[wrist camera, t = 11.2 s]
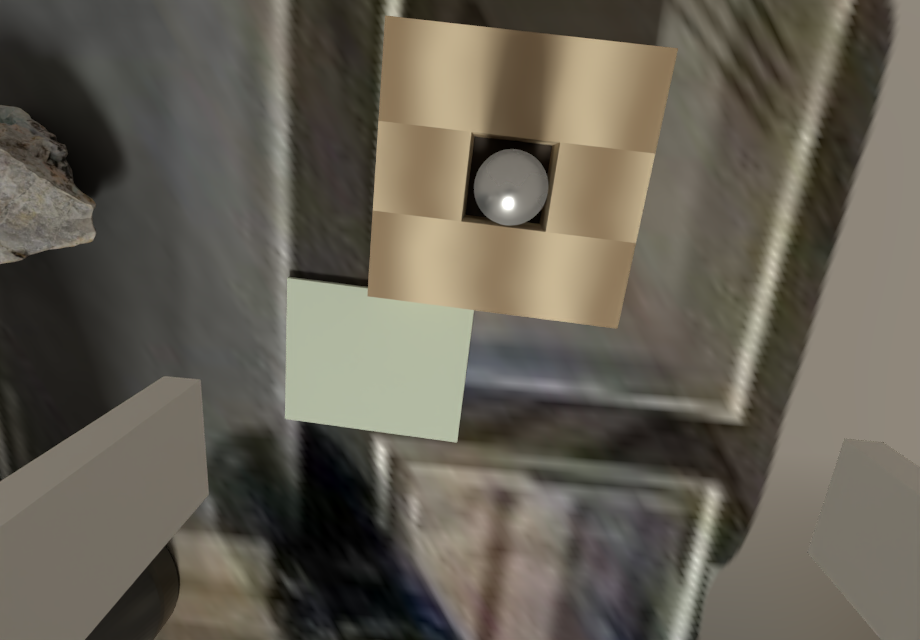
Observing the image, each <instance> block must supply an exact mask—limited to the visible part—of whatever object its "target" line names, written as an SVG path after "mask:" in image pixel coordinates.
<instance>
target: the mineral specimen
mask: <svg viewBox="0 0 920 640" xmlns="http://www.w3.org/2000/svg"><path fill="white" fill-rule="evenodd" d="M67 155H68V152H67V149H66V146H65V145H64V144H61V143H59V142H57V138H56V135H54V134H52V133H50V132H48V131H47V129H46V128H45V127H43V126H42V125H40V124H39V123H38V122H36V121H34V120H32V119H31V117H30V115H29V114H28V113H26V112H25V111H23V110H22V109H21V108H18V107H14V106H5V105H0V264H3V263H10V262H16V261H19V260H23V259H25V258H26V257H27V256H29V255H31V254H35V253H39V252H42V251H46V250H50V249H60V248H64V247H72V246H76V245H78V244H83V243H88V242H92V241H93V240H94V237H95V235H96V233H97V232H96V230H95V228H94V225H93V219H92V212H93V210H94V208H95V206H96V204H95V202H94V201H93V200H92V199H91V198H90V197H89V196H87V195H85V194H84V193H82V192H81V191H80V189H79V188H78V187H77V186H76V185H75V184H74V181H73V174H72V169H71V167H70V166H69V164H68V163H67V161H66V157H67Z"/></svg>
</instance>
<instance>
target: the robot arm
mask: <svg viewBox="0 0 920 640" xmlns="http://www.w3.org/2000/svg"><path fill="white" fill-rule="evenodd" d="M208 495H209V491H208V477H207V463H206V449H205V435H204V421H203V408H202V394H201V380H199V379H188V378H177V377H166V376H164V377H162V378H161V379H159V380H157V381H156V382H154V383H153V384H151V385H150V386H148V387H147V388H145V389H143V390H142V391H140V392H139V393H137V394H136V395H134V396H133V397H131V398H129V399H128V400H126V401H125V402H123V403H122V404H120V405H119V406H117V407H115V408H114V409H112V410H111V411H109V412H108V413H106V414H105V415H103V416H101V417H100V418H98V419H97V420H95V421H94V422H92V423H90V424H89V425H87V426H86V427H84V428H83V429H81V430H80V431H78V432H76V433H75V434H73V435H72V436H70V437H69V438H67V439H66V440H64V441H62V442H61V443H59V444H58V445H56V446H55V447H53V448H52V449H50V450H48V451H47V452H45V453H44V454H42V455H41V456H39V457H37V458H36V459H34V460H33V461H31V462H30V463H28V464H27V465H25V466H23V467H22V468H20V469H19V470H17V471H16V472H14V473H13V474H11V475H9V476H8V477H6V478H5V479H3V480H2V481H0V640H153V639H154V638H155V637H156V636H157V634H158V633H159V631H160V630H161V629H162V627H163V626H164V625H165V623H166V622H167V620H168V619H169V618H170V616H171V614H172V613H173V611H174V608H175V606H176V603H177V598H178V590H179V584H178V576H177V571H176V567H175V564H174V562H173V559H172V557H171V555H170V553H169V551H168V549H167V547H166V546H165V545H166V544H167V543H168V542H169V540H170V539H171V538H172V537H173V536H174V535H175V533H176V532H177V531H178V530H179V529H180V527H181V526H182V525H183V524H184V523H185V522H186V520H187V519H188V518H189V517H190V516H191V515H192V513H193V512H194V511H195V510H196V509H197V508H198V506H199V505H200V504H201V503H202V502H203V500H204V499H205V498H206V497H207V496H208ZM807 553H808V554H809V555H810V556H811V557H812V559H813V560H814V561H815V562H816V563H817V564H818V566H819V567H820V568H821V569H822V570H823V572H825V574H826V575H827V576H828V577H829V579H830V580H831V581H832V582H833V583H834V584H835V586H836V587H837V588H838V589H839V591H840V592H841V593H842V594H843V595H844V596H845V598H846V599H847V600H848V601H849V602H850V604H851V605H852V606H853V607H854V608H855V609H856V610H857V612H858V613H859V614H860V615H861V617H863V619H864V620H865V621H866V623H868V625H869V626H870V627H871V628H872V630H873V631H874V632H875V633H876V634H877V636H878V637H879V638H880V639H881V640H920V467H919V466H917V465H916V464H914V463H913V462H911V461H910V460H908V459H907V458H905V457H904V456H903V455H901V454H900V453H898V452H897V451H895V450H894V449H892V448H891V447H889V446H888V445H886V444H885V443H884V442H874V441H864V440H853V439H844V442H843V445H842V448H841V451H840V454H839V457H838V460H837V463H836V466H835V469H834V472H833V475H832V478H831V482H830V484H829V487H828V490H827V494H826V497H825V500H824V503H823V506H822V509H821V512H820V515H819V518H818V521H817V524H816V527H815V530H814V534H813V536H812V539H811V542H810V546H809V548H808V552H807Z"/></svg>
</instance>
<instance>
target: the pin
mask: <svg viewBox="0 0 920 640" xmlns="http://www.w3.org/2000/svg"><path fill="white" fill-rule="evenodd" d="M547 194H548V178H547V174H546V172H545V169H544V168H543V166H542V164H541V163H540V162H539V161H538V160H537V159H536V158H535V157H534V156H533V155H531V154H529V153H527V152H525V151H522V150H517V149H506V150H502V151H499V152H497V153H495V154H493V155H491V156H490V157H489V158H487V159H486V160H485V161H484V163H483V164H482V165H481V167H480V168H479V170H478V172H477V174H476V177H475V182H474V195H475V199H476V202H477V204H478V206H479V208H480V210H481V211H482V212H483V214H484V215H485V216H486V217H488V218H489V219H490V220H492V221H494V222H496V223H498V224H502V225H509V226H512V225H519V224H522V223H525V222H527V221H529V220H530V219H532V218H533V217H534V216H536V215H537V214H538V212H539V211H540V210H541V209H542V207H543V205H544V203H545V201H546V198H547Z"/></svg>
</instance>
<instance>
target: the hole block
mask: <svg viewBox="0 0 920 640" xmlns="http://www.w3.org/2000/svg"><path fill="white" fill-rule="evenodd" d="M677 51H678V48H669V47H660V46H651V45H642V44H633V43H625V42H616V41H607V40H598V39H589V38H580V37H571V36H562V35H553V34H544V33H535V32H526V31H518V30H509V29H500V28H491V27H482V26H473V25H464V24H455V23H446V22H437V21H428V20H419V19H411V18H402V17H393V16H385V28H384V44H383V60H382V76H381V91H380V107H379V123H378V138H377V154H376V170H375V185H374V201H373V217H372V232H371V248H370V264H369V279H368V295H367V296H369V297H377V298H384V299H392V300H400V301H408V302H415V303H423V304H431V305H439V306H446V307H454V308H462V309H470V310H477V311H485V312H493V313H501V314H508V315H516V316H524V317H532V318H539V319H547V320H555V321H562V322H570V323H578V324H586V325H593V326H601V327H609V328H618V323H619V319H620V314H621V309H622V305H623V300H624V295H625V291H626V286H627V282H628V277H629V272H630V268H631V263H632V259H633V254H634V249H635V245H636V240H637V235H638V231H639V226H640V222H641V217H642V212H643V208H644V203H645V198H646V194H647V189H648V185H649V180H650V175H651V171H652V166H653V161H654V157H655V152H656V148H657V143H658V138H659V134H660V129H661V125H662V120H663V115H664V111H665V106H666V101H667V97H668V92H669V88H670V83H671V78H672V74H673V69H674V64H675V60H676V55H677ZM475 136H476V137H484V138H493V139H501V140H510V141H518V142H526V143H535V144H543V145H552V148H551V155H550V161H549V167H548V173H547V178H548V194H547V198H546V201H545V203H544V205H543V207H542V211H541V217H540V224H536V223H528V222H525V223H522V224H519V225H512V226H509V225H502V224H498V223H496V222H494V221H492V220H490V219H489V218H488V217H480V216H472V215H465V214H466V206H467V197H468V188H469V180H470V171H471V163H472V154H473V145H474V137H475Z"/></svg>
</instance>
